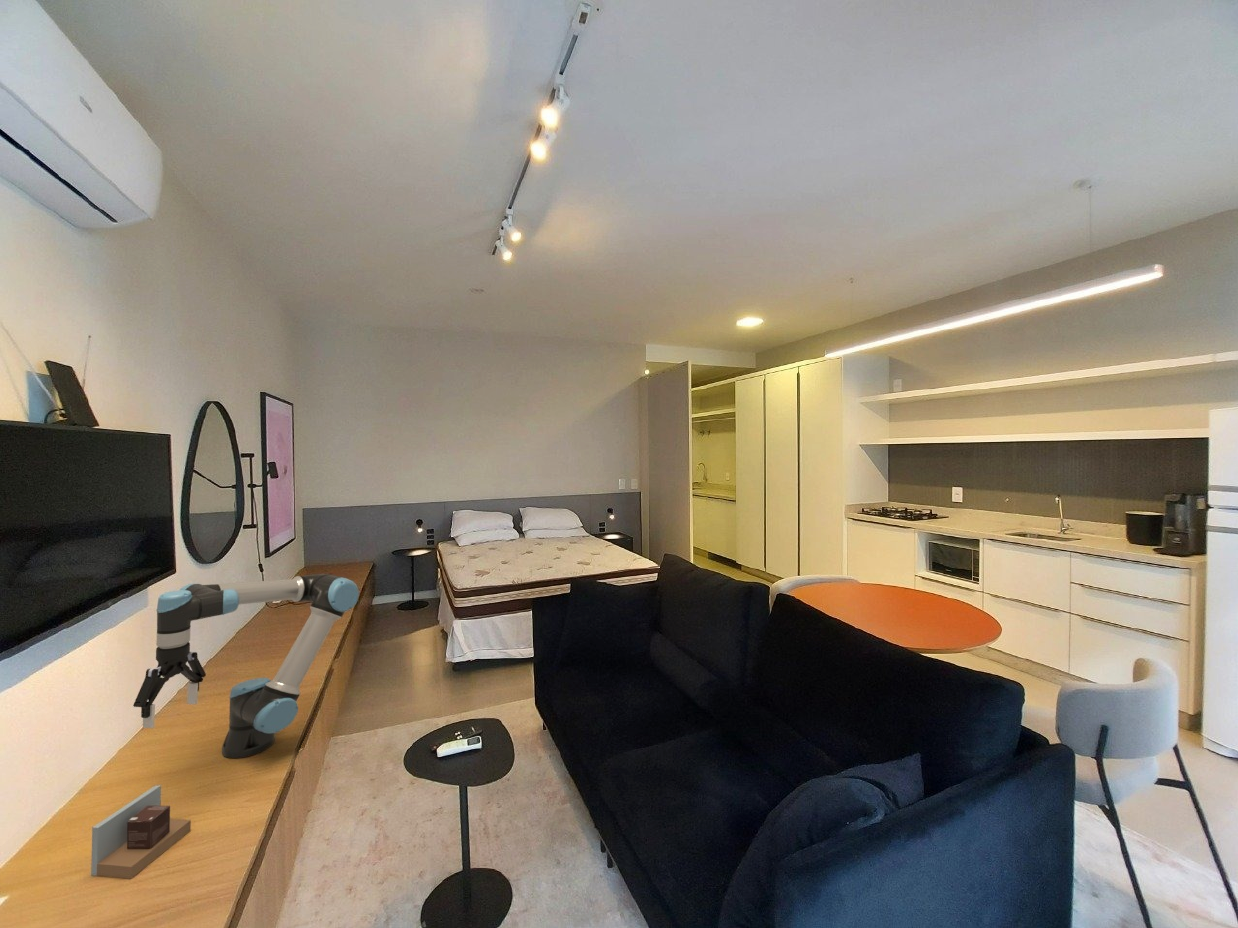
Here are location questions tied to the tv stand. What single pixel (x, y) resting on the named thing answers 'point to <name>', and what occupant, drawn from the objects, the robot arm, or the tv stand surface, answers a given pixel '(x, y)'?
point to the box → (148, 827)
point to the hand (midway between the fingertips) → (171, 715)
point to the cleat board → (112, 840)
